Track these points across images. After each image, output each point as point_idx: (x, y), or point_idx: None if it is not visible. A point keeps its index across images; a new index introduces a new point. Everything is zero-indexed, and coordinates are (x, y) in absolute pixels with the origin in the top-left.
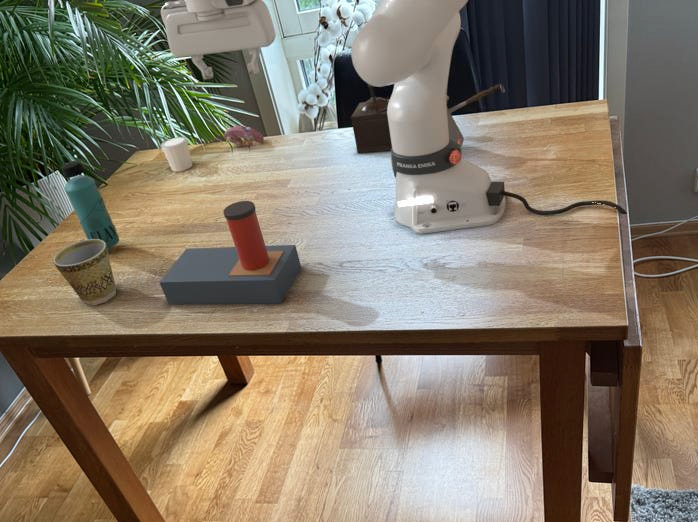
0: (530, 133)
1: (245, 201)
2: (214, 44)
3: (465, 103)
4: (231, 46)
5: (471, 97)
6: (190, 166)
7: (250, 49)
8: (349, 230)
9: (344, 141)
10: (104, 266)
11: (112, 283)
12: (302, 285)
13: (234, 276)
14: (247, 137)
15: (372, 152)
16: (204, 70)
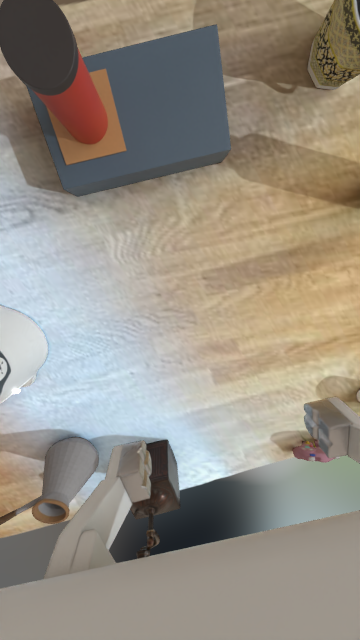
0: (11, 489)
1: (45, 83)
2: (329, 609)
3: (17, 510)
4: (173, 591)
5: (6, 519)
6: (357, 394)
7: (74, 570)
8: (74, 291)
9: (198, 459)
10: (336, 11)
11: (316, 54)
12: (47, 153)
13: (95, 70)
14: (308, 447)
15: (151, 443)
16: (346, 423)
